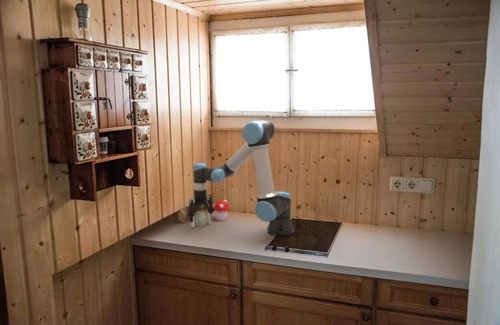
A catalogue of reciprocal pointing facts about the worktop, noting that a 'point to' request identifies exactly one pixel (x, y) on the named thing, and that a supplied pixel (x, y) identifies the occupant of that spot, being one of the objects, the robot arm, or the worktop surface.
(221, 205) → the mushroom
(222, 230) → the worktop surface
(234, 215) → the worktop surface
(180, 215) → the tower base
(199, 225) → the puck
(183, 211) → the tower top
